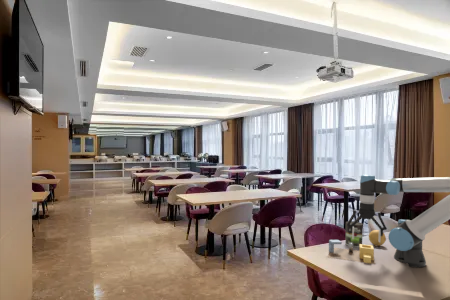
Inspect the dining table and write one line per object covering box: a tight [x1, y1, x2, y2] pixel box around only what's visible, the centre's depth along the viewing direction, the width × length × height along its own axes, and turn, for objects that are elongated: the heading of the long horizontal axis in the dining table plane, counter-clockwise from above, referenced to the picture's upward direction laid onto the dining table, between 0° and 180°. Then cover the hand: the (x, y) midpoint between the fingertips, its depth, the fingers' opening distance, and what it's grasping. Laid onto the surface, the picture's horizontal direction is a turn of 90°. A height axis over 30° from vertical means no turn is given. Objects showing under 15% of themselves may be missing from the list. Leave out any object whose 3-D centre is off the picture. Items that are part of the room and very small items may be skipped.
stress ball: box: [368, 229, 387, 247], centre depth 200 cm, size 10×10×10 cm
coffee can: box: [344, 220, 364, 248], centre depth 201 cm, size 10×10×14 cm
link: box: [358, 243, 375, 264], centre depth 171 cm, size 13×7×6 cm, turn 158°
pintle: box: [348, 243, 354, 252], centre depth 182 cm, size 2×2×5 cm
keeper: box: [328, 239, 342, 253], centre depth 182 cm, size 6×5×6 cm
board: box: [327, 247, 376, 265], centre depth 177 cm, size 24×20×2 cm
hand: (365, 240), depth 174 cm, fingers open, 13 cm apart
